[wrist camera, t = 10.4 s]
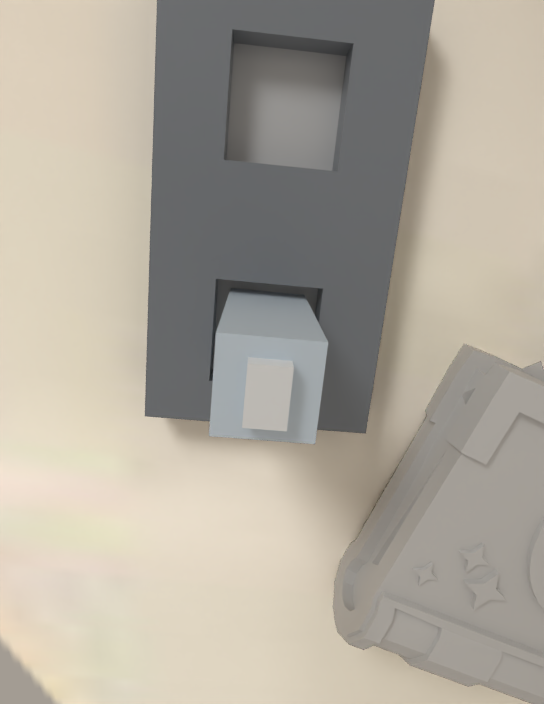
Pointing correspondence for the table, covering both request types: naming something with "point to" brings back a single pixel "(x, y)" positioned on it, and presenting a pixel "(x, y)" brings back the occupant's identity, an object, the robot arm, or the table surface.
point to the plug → (267, 368)
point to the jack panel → (278, 180)
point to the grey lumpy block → (460, 537)
